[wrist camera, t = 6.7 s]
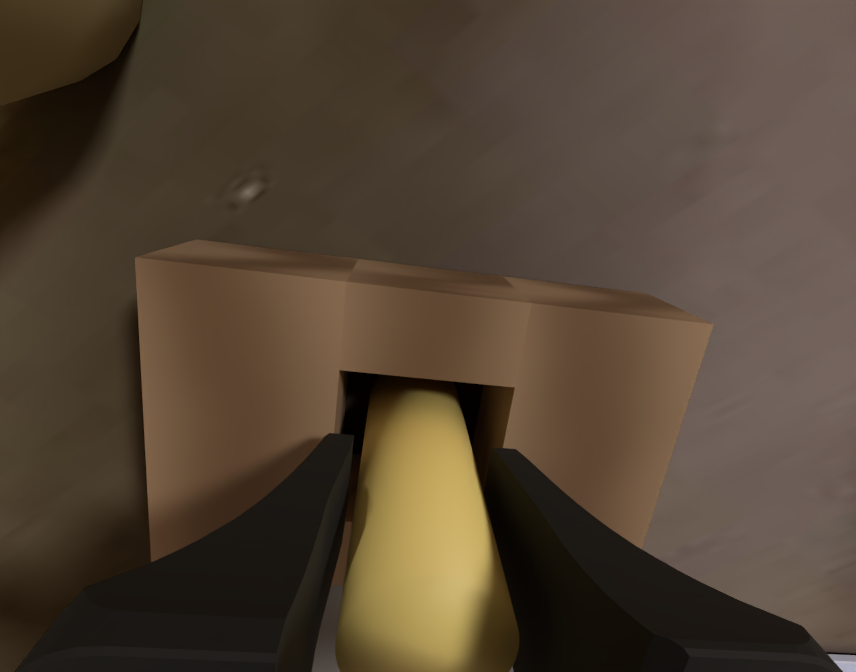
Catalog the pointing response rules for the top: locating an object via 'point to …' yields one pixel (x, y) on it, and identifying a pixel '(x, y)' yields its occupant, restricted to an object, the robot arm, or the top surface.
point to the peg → (422, 544)
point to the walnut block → (399, 356)
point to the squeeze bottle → (59, 42)
